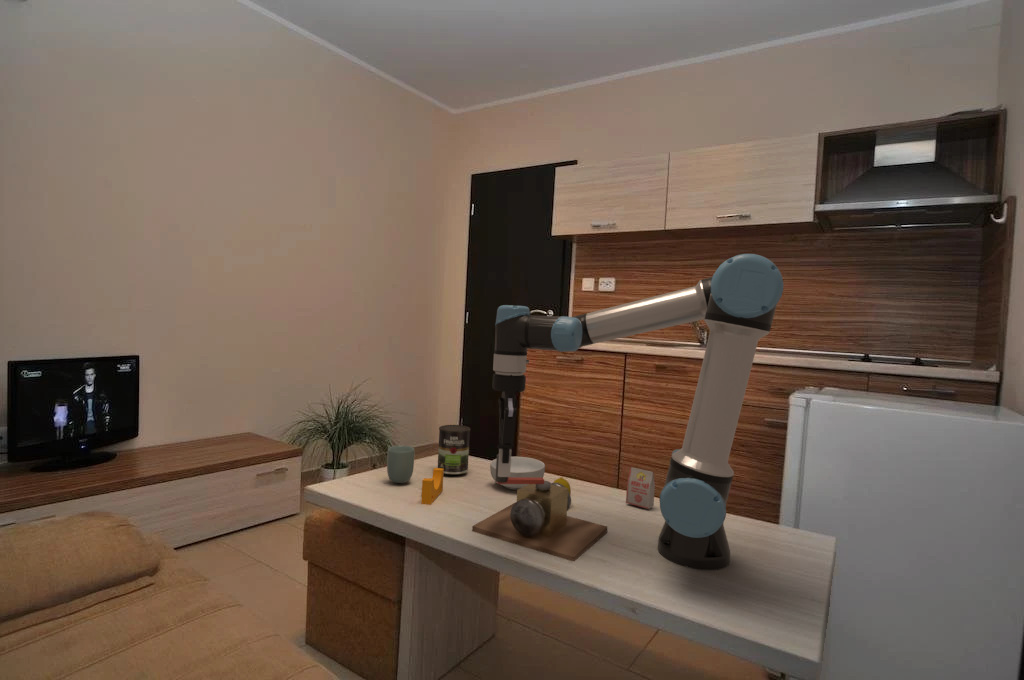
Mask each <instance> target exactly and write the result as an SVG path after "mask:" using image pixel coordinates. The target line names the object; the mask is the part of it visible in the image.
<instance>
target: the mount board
mask: <svg viewBox="0 0 1024 680" xmlns="http://www.w3.org/2000/svg"><path fill="white" fill-rule="evenodd" d="M516 502H517V501H515V502H514V503H512V504H510V505H508V506H506V507H504V508H503V509H501V510H499V511H497V512H495V513H493V514H492V515H490V516H488V517H486V518H484V519H482V520H481V521H479V522H477V523H475V524H473V525H472V527H471V532H474V533H476V532H477V534H480V535H484V536H487V537H490V538H495V539H496V540H500V541H503V542H507V543H510V544H514V545H517V546H521V547H525V548H527V549H529V550H530V549H531V550H534V551H537V552H540V553H541V552H542V553H544V554H548V555H551V556H554V557H558V558H561V559H565V560H568V561H571V562H575V561H576V560H577V559H578V558H579V557H581V556H582V555H583V554H584V553H585V552H587V551H588V550H589V549H590V548H591V547H592V546H594V545H595V544H596V543H597V542H598V541H599V540H601V539H602V538H603V537H604V536H605V535H606V534H607V533H608V528H609V526H607V525H603V524H601V523H600V524H599V523H595V522H591V521H588V520H584V519H581V518H577V517H572V516H569V515H567V518H566V525H565V526H564V527H563V528H562V529H560V530H559V531H558V532H556V533H555V534H554V535H552V536H551V537H550V538H549V537H546V536H542V535H539V534H535V535H533V536H525V535H522V534H520V533H519V532H518V531H517V530H516V529H515V528H514V526H513V524H512V522H511V517H510V513H511V509H512V506H513V505H514V504H515V503H516Z"/></svg>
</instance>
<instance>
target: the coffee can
mask: <svg viewBox="0 0 1024 680" xmlns="http://www.w3.org/2000/svg"><path fill="white" fill-rule="evenodd" d="M438 431H439V432H438V449H437V451H438V453H437V468H443V469H444V474H445V475H461V474H465V473H468V471H469V455H470V438H471V437H470V436H471V427H469V426H466V425H461V424H444V425H441V426H439V427H438Z"/></svg>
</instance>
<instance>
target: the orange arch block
mask: <svg viewBox="0 0 1024 680" xmlns="http://www.w3.org/2000/svg"><path fill="white" fill-rule="evenodd" d="M444 474H445V473H444V469H443V468H438V467H434V468H433V469H432V477H427V478H426V477H424V478H423V479H422V481H421V505H429V506H431V505H433V503H434V501H435V500H436V499H437V498H438V497H439V495H441V493H442V492H443V490H444Z"/></svg>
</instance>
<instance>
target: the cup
mask: <svg viewBox="0 0 1024 680" xmlns="http://www.w3.org/2000/svg"><path fill="white" fill-rule="evenodd" d="M386 455H387V456H386V458H387V459H386V469H387V470H386V472H387V473H386V474H387V477H388V479H389V481H391V482H392V483H394V484H395V483H396V484H403V483H406V482H408V481H410V480H411V478H412V476H413V473H414V465H415V448H414V447H413V446H410V445H402V444H401V445H400V444H399V445H393V446H390V447H388V448H387V453H386Z"/></svg>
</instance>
